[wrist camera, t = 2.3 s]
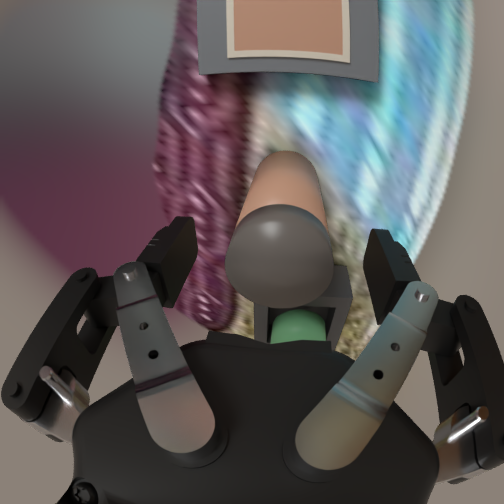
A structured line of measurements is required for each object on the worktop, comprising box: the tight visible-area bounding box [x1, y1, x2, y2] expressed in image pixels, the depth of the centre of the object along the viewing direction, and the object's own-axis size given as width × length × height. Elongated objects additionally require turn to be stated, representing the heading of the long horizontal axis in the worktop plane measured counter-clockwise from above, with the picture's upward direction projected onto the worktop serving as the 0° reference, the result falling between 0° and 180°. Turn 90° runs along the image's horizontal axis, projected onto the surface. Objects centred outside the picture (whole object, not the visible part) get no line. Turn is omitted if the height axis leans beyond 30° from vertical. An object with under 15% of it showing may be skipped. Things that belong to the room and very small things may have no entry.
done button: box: [270, 309, 326, 344], centre depth 19 cm, size 4×4×2 cm
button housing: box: [254, 265, 353, 351], centre depth 21 cm, size 7×7×4 cm
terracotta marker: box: [225, 151, 334, 308], centre depth 14 cm, size 4×4×9 cm
